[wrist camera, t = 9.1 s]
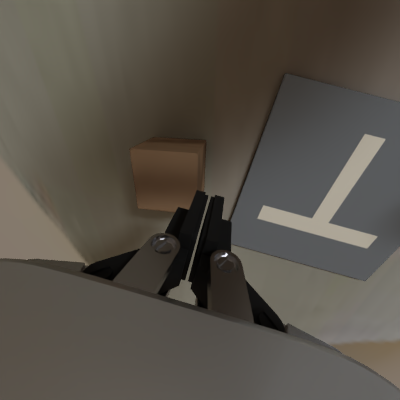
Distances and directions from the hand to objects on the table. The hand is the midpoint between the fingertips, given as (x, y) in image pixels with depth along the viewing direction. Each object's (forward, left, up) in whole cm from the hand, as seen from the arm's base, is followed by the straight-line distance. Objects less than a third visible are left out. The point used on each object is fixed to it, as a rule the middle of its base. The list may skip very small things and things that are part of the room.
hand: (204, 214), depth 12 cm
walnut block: (+2, -4, -12) cm, 13 cm away
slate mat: (+1, +14, -12) cm, 18 cm away
